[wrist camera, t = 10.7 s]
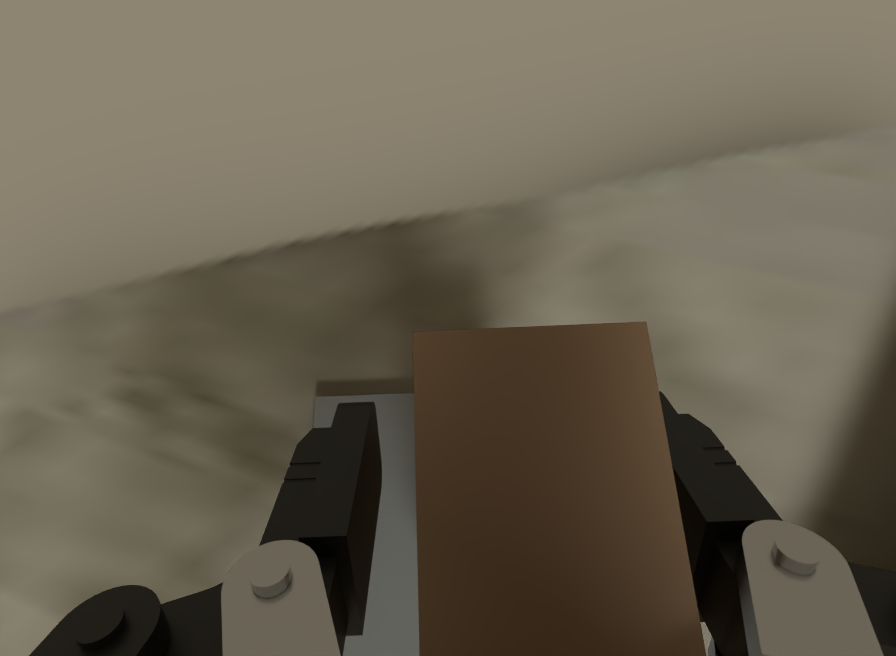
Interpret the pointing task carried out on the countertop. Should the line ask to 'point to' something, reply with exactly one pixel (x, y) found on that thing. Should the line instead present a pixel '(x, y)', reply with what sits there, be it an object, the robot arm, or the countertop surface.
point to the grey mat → (389, 530)
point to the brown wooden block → (547, 496)
